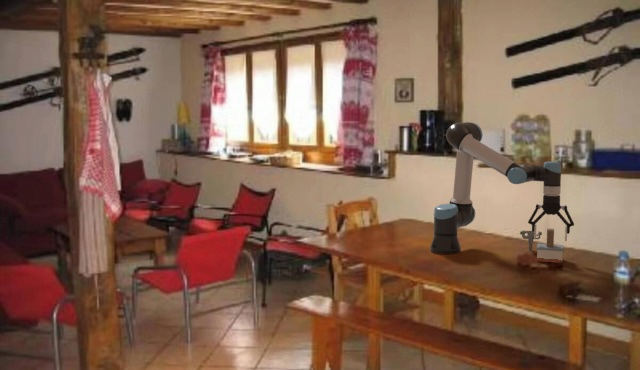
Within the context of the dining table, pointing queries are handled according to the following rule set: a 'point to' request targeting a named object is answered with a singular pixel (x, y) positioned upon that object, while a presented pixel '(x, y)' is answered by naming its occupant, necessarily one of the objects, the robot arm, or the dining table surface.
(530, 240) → the mechanical component
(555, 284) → the dining table surface
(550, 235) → the lid
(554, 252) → the box
